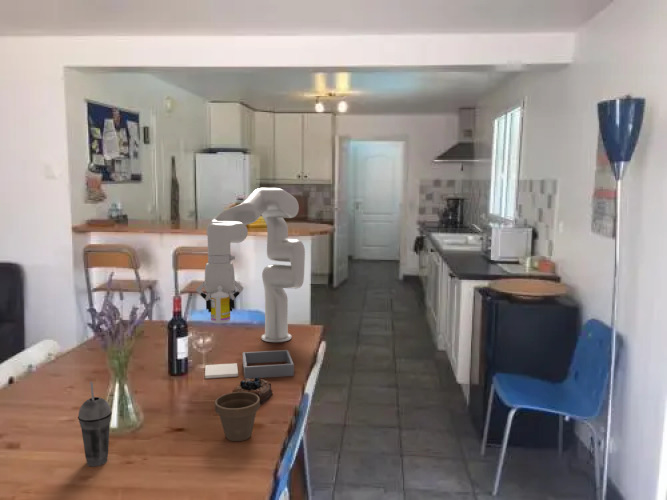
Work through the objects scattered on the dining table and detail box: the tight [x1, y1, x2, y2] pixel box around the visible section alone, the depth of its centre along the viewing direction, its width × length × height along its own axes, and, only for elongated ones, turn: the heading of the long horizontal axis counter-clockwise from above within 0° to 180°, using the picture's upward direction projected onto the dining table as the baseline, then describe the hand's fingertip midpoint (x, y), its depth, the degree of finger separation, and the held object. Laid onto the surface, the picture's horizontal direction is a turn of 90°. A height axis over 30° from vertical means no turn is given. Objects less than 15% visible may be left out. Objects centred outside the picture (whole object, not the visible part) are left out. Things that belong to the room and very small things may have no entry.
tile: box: [204, 362, 239, 379], centre depth 193 cm, size 11×11×1 cm
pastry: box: [231, 377, 274, 406], centre depth 170 cm, size 11×12×6 cm
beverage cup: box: [77, 381, 113, 468], centre depth 129 cm, size 7×7×20 cm
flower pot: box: [214, 392, 261, 442], centre depth 143 cm, size 12×11×10 cm
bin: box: [242, 349, 295, 380], centre depth 196 cm, size 17×17×4 cm
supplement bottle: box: [210, 286, 231, 324], centre depth 190 cm, size 7×7×13 cm
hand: (220, 310), depth 190 cm, fingers closed on supplement bottle, 6 cm apart
